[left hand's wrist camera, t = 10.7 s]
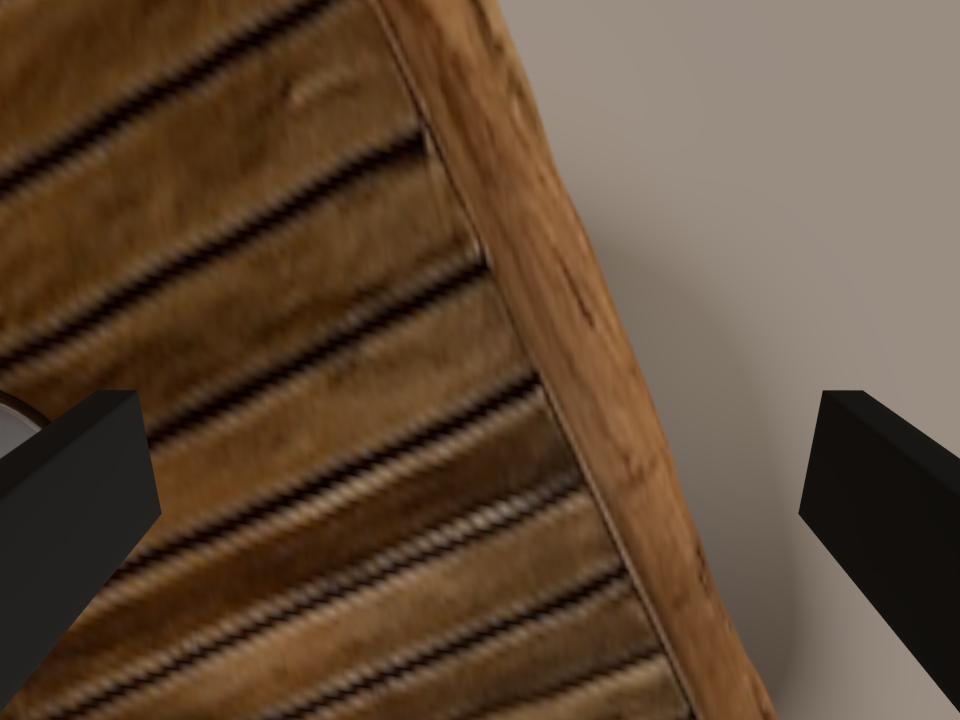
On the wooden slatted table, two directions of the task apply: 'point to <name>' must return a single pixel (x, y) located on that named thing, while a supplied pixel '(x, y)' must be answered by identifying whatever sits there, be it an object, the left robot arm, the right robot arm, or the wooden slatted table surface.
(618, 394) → the wooden slatted table surface
